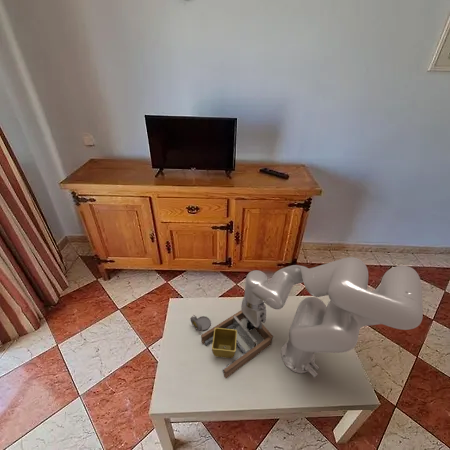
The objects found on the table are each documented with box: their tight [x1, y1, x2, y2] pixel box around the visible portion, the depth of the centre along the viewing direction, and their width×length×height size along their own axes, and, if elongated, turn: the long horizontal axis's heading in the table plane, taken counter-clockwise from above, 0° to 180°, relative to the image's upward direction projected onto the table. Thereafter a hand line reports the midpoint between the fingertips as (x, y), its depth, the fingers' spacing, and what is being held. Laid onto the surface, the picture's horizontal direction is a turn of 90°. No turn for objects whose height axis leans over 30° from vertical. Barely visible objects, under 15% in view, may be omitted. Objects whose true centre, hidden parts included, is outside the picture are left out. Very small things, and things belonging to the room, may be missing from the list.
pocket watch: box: [189, 314, 212, 332], centre depth 108 cm, size 8×8×10 cm
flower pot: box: [211, 328, 238, 359], centre depth 100 cm, size 9×9×9 cm
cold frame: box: [200, 309, 274, 379], centre depth 103 cm, size 17×23×6 cm
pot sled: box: [204, 315, 257, 373], centre depth 101 cm, size 14×15×7 cm
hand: (251, 327), depth 106 cm, fingers closed
